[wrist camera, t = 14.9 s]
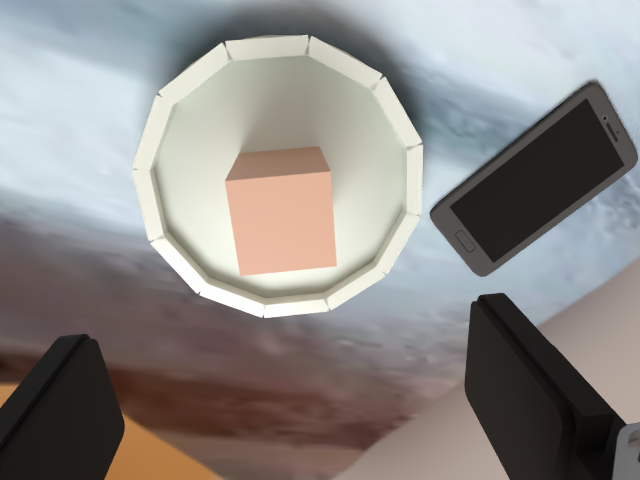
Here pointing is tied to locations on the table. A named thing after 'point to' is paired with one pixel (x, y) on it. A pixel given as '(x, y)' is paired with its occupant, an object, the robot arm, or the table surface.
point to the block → (282, 211)
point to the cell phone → (536, 181)
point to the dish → (276, 134)
